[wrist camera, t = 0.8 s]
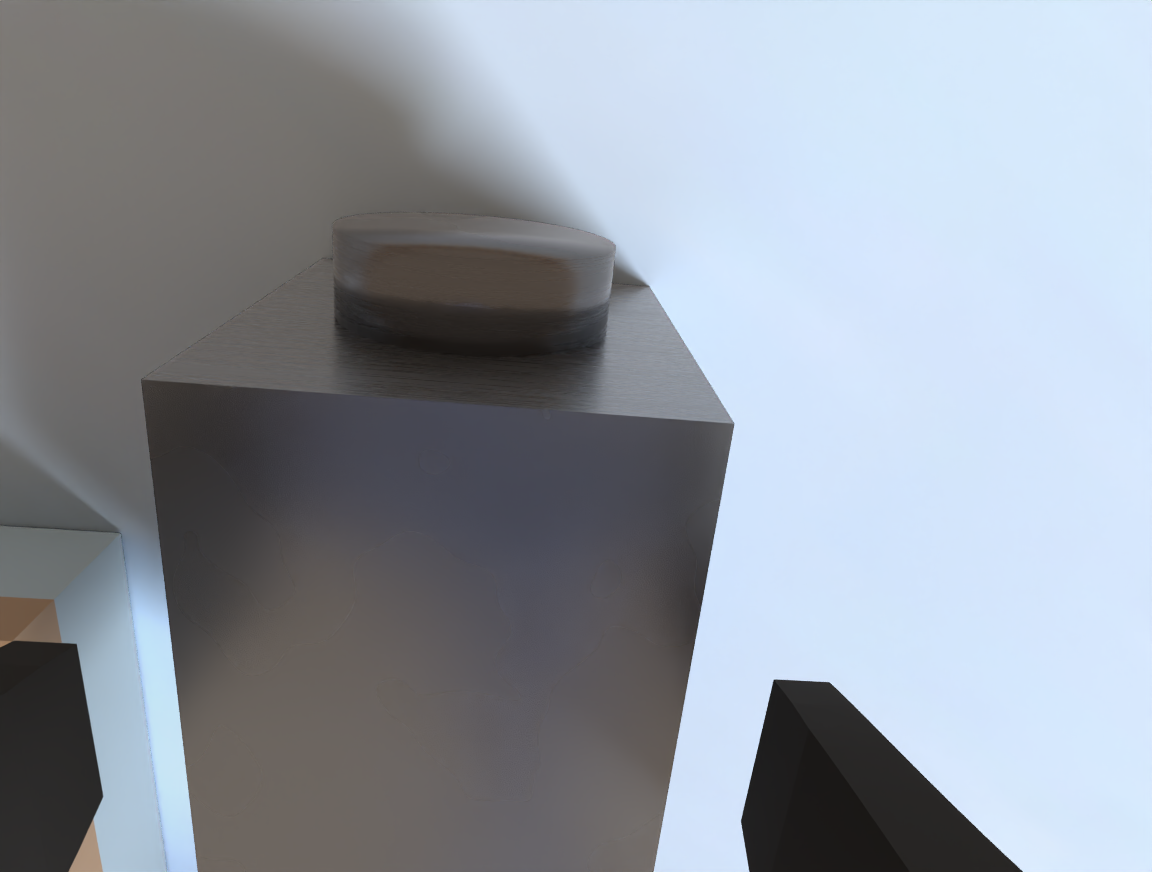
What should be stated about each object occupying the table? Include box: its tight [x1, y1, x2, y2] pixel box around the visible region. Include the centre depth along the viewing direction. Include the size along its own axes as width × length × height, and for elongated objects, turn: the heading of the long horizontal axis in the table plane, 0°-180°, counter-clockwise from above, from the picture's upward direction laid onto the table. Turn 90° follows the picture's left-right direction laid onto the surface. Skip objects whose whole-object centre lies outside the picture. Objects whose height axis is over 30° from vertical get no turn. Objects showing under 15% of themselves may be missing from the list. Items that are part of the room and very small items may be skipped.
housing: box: [141, 212, 734, 872], centre depth 11 cm, size 9×5×6 cm, turn 174°
